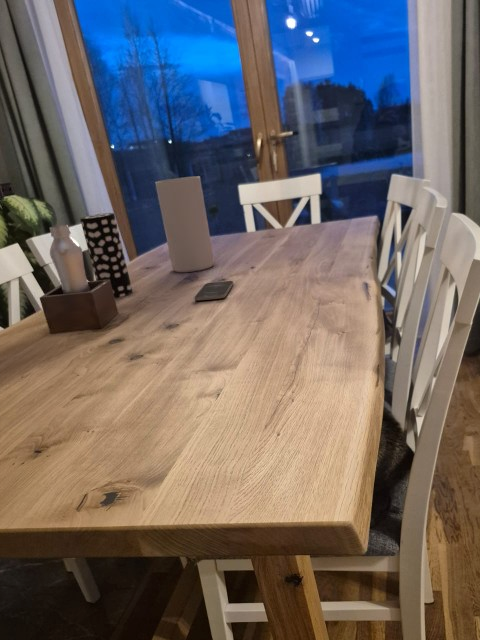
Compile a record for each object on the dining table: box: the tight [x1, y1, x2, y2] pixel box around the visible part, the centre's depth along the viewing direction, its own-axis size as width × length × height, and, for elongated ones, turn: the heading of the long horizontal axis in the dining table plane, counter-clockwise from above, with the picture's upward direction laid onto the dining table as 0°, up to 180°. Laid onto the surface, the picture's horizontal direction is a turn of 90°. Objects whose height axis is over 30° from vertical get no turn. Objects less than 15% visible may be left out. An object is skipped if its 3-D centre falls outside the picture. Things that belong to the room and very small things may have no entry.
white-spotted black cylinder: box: [79, 212, 133, 299], centre depth 149 cm, size 8×8×20 cm
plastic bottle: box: [49, 224, 90, 294], centre depth 125 cm, size 6×7×20 cm
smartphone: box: [194, 280, 234, 301], centre depth 142 cm, size 8×1×15 cm
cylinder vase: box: [154, 175, 215, 273], centre depth 168 cm, size 12×12×25 cm
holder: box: [39, 279, 119, 335], centre depth 128 cm, size 12×12×8 cm
